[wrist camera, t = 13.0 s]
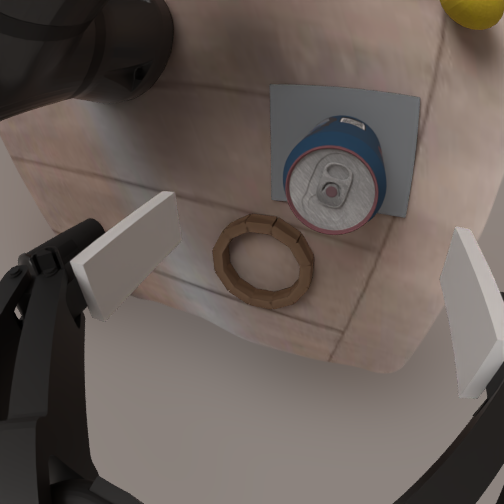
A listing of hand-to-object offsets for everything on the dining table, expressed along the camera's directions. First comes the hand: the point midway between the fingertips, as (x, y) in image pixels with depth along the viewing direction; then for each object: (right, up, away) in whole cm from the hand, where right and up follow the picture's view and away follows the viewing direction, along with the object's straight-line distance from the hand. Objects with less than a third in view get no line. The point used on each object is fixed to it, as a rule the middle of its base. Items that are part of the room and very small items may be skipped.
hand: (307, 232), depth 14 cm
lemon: (+16, +21, +3) cm, 27 cm away
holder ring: (-1, -2, +24) cm, 25 cm away
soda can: (+6, +9, +14) cm, 18 cm away
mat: (+6, +9, +15) cm, 18 cm away
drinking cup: (-27, +2, +33) cm, 43 cm away
